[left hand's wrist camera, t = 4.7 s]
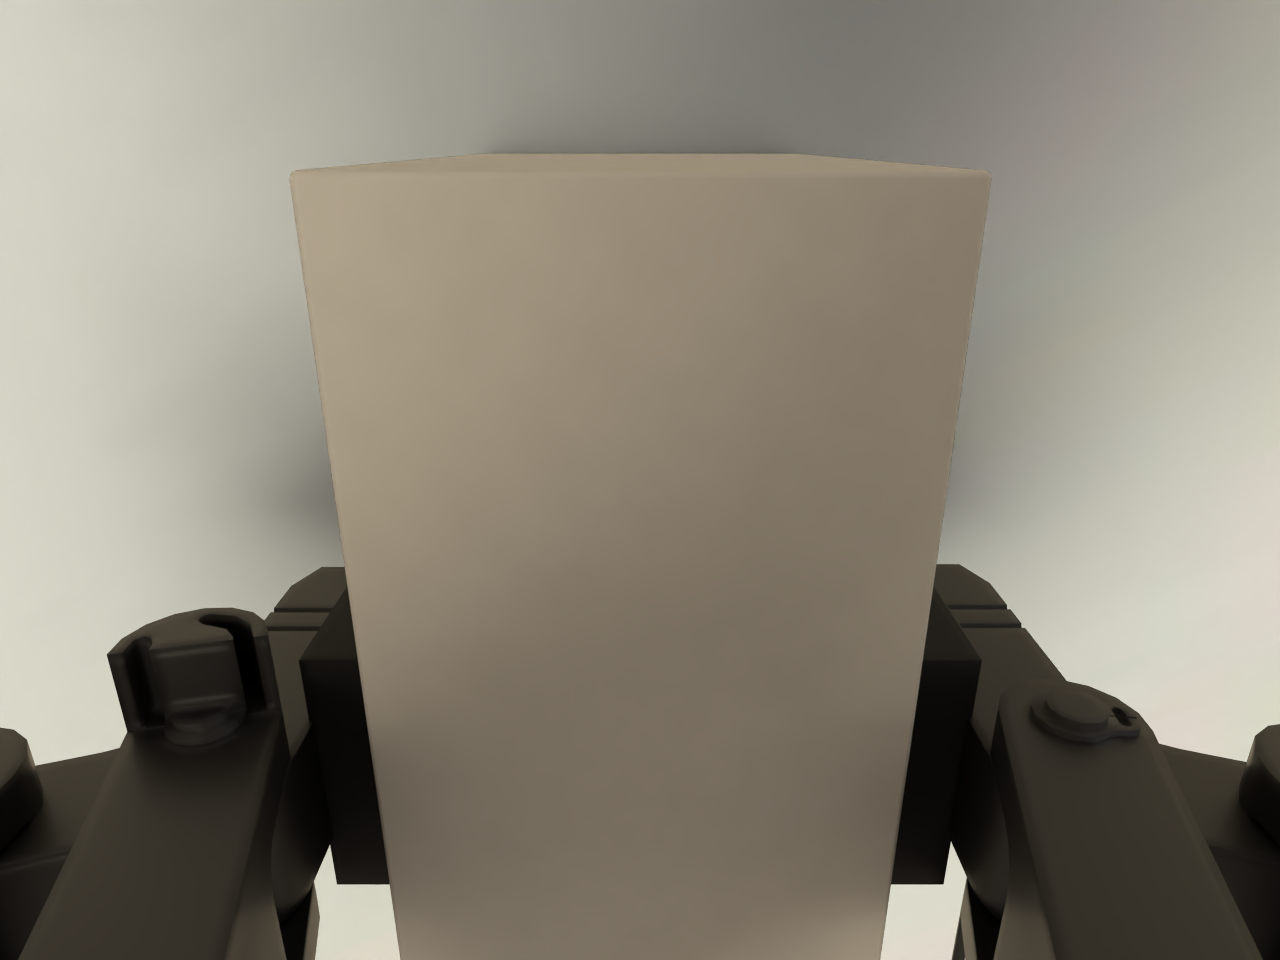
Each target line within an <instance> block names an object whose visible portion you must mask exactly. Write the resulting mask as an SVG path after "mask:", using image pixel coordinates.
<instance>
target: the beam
mask: <svg viewBox="0 0 1280 960" xmlns="http://www.w3.org/2000/svg"><path fill="white" fill-rule="evenodd" d="M290 185H291V192H292V199H293V206H294V214H295V221H296V228H297V235H298V242H299V249H300V256H301V263H302V270H303V277H304V284H305V291H306V298H307V305H308V312H309V319H310V326H311V333H312V340H313V347H314V354H315V361H316V368H317V375H318V382H319V389H320V396H321V403H322V411H323V418H324V425H325V432H326V439H327V446H328V453H329V460H330V467H331V474H332V481H333V488H334V495H335V502H336V509H337V516H338V523H339V530H340V537H341V544H342V551H343V558H344V565H345V572H346V579H347V586H348V593H349V600H350V607H351V615H352V622H353V629H354V636H355V643H356V650H357V657H358V664H359V671H360V678H361V685H362V692H363V699H364V706H365V713H366V720H367V727H368V734H369V741H370V748H371V755H372V762H373V769H374V776H375V783H376V790H377V797H378V804H379V812H380V819H381V826H382V833H383V840H384V847H385V854H386V861H387V868H388V875H389V882H390V889H391V896H392V903H393V910H394V917H395V924H396V931H397V938H398V945H399V952H400V959H401V960H880V957H881V950H882V943H883V936H884V929H885V922H886V915H887V908H888V901H889V894H890V887H891V880H892V873H893V865H894V858H895V851H896V844H897V837H898V830H899V823H900V816H901V809H902V802H903V795H904V788H905V781H906V774H907V767H908V760H909V753H910V746H911V739H912V732H913V725H914V718H915V711H916V704H917V697H918V690H919V683H920V676H921V669H922V662H923V655H924V648H925V641H926V634H927V627H928V620H929V613H930V606H931V599H932V592H933V585H934V578H935V571H936V564H937V557H938V550H939V543H940V536H941V529H942V521H943V514H944V507H945V500H946V493H947V486H948V479H949V472H950V465H951V458H952V451H953V444H954V437H955V430H956V423H957V416H958V409H959V402H960V395H961V388H962V381H963V374H964V367H965V360H966V353H967V346H968V339H969V332H970V325H971V318H972V311H973V304H974V297H975V290H976V283H977V276H978V269H979V262H980V255H981V248H982V241H983V234H984V227H985V220H986V213H987V206H988V199H989V192H990V185H991V175H990V173H989V172H987V171H985V170H975V169H964V168H953V167H941V166H930V165H919V164H907V163H896V162H885V161H874V160H862V159H851V158H840V157H829V156H817V155H806V154H475V155H463V156H452V157H441V158H430V159H418V160H407V161H396V162H385V163H373V164H362V165H351V166H340V167H328V168H317V169H306V170H296V171H294V172H292V173H291V174H290Z"/></svg>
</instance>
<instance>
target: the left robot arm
mask: <svg viewBox="0 0 1280 960" xmlns="http://www.w3.org/2000/svg"><path fill="white" fill-rule="evenodd" d="M107 657H108V661H109V665H110V668H111V672H112V676H113V680H114V683H115V687H116V691H117V694H118V698H119V702H120V706H121V709H122V713H123V717H124V721H125V724H126V728H127V734H126V736H125V738H124V740H123V742H122V744H121V747H120V748H118V749H114V750H110V751H106V752H103V753H98V754H93V755H88V756H83V757H78V758H73V759H68V760H63V761H58V762H52V763H47V764H42V765H37V766H35V764H34V761H33V757H32V754H31V751H30V748H29V745H28V742H27V740H26V739H25V738H24V737H23V736H21V735H20V734H19V733H17V732H16V731H15V730H12V729H5V728H0V960H315V954H316V945H317V937H318V928H319V920H320V915H319V908H318V901H317V896H316V890H315V885H314V879H315V877H316V875H317V873H318V870H319V868H320V866H321V863H322V861H323V859H324V857H325V854H326V852H327V850H328V848H329V845H330V846H331V851H332V857H333V863H334V869H335V875H336V880H337V884H390V882H389V875H388V868H387V861H386V854H385V847H384V840H383V833H382V826H381V819H380V812H379V804H378V797H377V790H376V783H375V776H374V769H373V762H372V755H371V748H370V741H369V734H368V727H367V720H366V713H365V706H364V699H363V692H362V685H361V678H360V671H359V664H358V657H357V650H356V643H355V636H354V629H353V622H352V615H351V607H350V600H349V593H348V586H347V579H346V572H345V567H321V568H320V569H318V570H316V571H315V572H313V573H312V574H310V575H308V576H307V577H305V578H304V579H302V580H300V581H299V582H297V583H296V584H294V585H292V586H291V587H290V589H289V590H288V591H287V592H286V594H285V595H284V596H283V597H282V599H281V600H280V601H279V603H278V604H277V605H276V606H275V608H274V612H271V613H270V614H269V615H268V617H267V618H266V619H265V621H264V620H263V619H261V618H260V617H259V616H257V615H256V614H255V613H253V612H249V611H245V610H240V609H235V608H204V609H199V610H194V611H189V612H184V613H178V614H174V615H171V616H169V617H166V618H163V619H160V620H158V621H155V622H152V623H149V624H146V625H145V626H143V627H141V628H139V629H138V630H136V631H134V632H133V633H131V634H129V635H128V636H126V637H124V638H122V639H121V640H120V641H119V642H118V643H117V644H116V646H115V647H114V648H113V649H112V650H111V651H110V652H109V653H108V654H107ZM951 842H952V844H953V846H954V849H955V851H956V853H957V855H958V858H959V860H960V862H961V864H962V867H963V869H964V871H965V874H966V876H967V879H966V885H965V890H964V895H963V901H962V906H961V912H960V917H959V923H958V928H957V933H956V939H955V944H954V950H953V955H952V960H1280V724H1278V725H1271V726H1267V727H1266V728H1265V729H1264V730H1262V731H1261V732H1260V733H1258V734H1257V735H1256V736H1255V738H1254V741H1253V744H1252V747H1251V750H1250V754H1249V757H1248V760H1247V762H1242V761H1237V760H1232V759H1227V758H1222V757H1217V756H1212V755H1207V754H1202V753H1197V752H1192V751H1187V750H1182V749H1178V748H1174V747H1170V746H1166V745H1162V744H1159V743H1158V741H1157V739H1156V737H1155V735H1154V732H1153V731H1152V729H1151V728H1150V727H1149V726H1148V724H1147V723H1146V722H1145V721H1144V719H1143V718H1142V717H1141V716H1140V714H1139V713H1138V712H1136V711H1135V710H1133V709H1132V708H1130V707H1129V706H1127V705H1126V704H1124V703H1123V702H1122V701H1120V700H1119V699H1117V698H1115V697H1113V696H1111V695H1108V694H1106V693H1104V692H1101V691H1099V690H1097V689H1094V688H1092V687H1089V686H1086V685H1081V684H1077V683H1072V682H1068V681H1066V680H1065V678H1064V677H1063V676H1062V674H1061V673H1060V672H1059V671H1058V669H1057V668H1056V667H1055V666H1054V664H1053V663H1052V662H1051V660H1050V659H1049V658H1048V657H1047V655H1046V654H1045V653H1044V652H1043V650H1042V649H1041V648H1040V647H1039V645H1038V644H1037V643H1036V641H1035V640H1034V639H1033V638H1032V636H1031V635H1030V634H1029V633H1028V631H1027V630H1026V629H1025V628H1022V627H1021V622H1020V621H1019V620H1018V619H1017V617H1016V616H1015V615H1014V613H1013V612H1012V611H1011V610H1010V609H1007V605H1006V603H1005V602H1004V601H1003V600H1002V598H1001V597H1000V596H999V594H998V593H997V592H996V591H995V589H994V588H993V587H992V586H991V584H990V583H989V582H987V581H985V580H984V579H982V578H980V577H979V576H977V575H976V574H974V573H972V572H971V571H969V570H967V569H966V568H964V567H963V566H961V565H959V564H936V571H935V578H934V585H933V592H932V599H931V606H930V613H929V620H928V627H927V634H926V641H925V648H924V655H923V662H922V669H921V676H920V683H919V690H918V697H917V704H916V711H915V718H914V725H913V732H912V739H911V746H910V753H909V760H908V767H907V774H906V781H905V788H904V795H903V802H902V809H901V816H900V823H899V830H898V837H897V844H896V851H895V858H894V865H893V873H892V880H891V884H944V878H945V872H946V866H947V860H948V855H949V849H950V843H951Z"/></svg>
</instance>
